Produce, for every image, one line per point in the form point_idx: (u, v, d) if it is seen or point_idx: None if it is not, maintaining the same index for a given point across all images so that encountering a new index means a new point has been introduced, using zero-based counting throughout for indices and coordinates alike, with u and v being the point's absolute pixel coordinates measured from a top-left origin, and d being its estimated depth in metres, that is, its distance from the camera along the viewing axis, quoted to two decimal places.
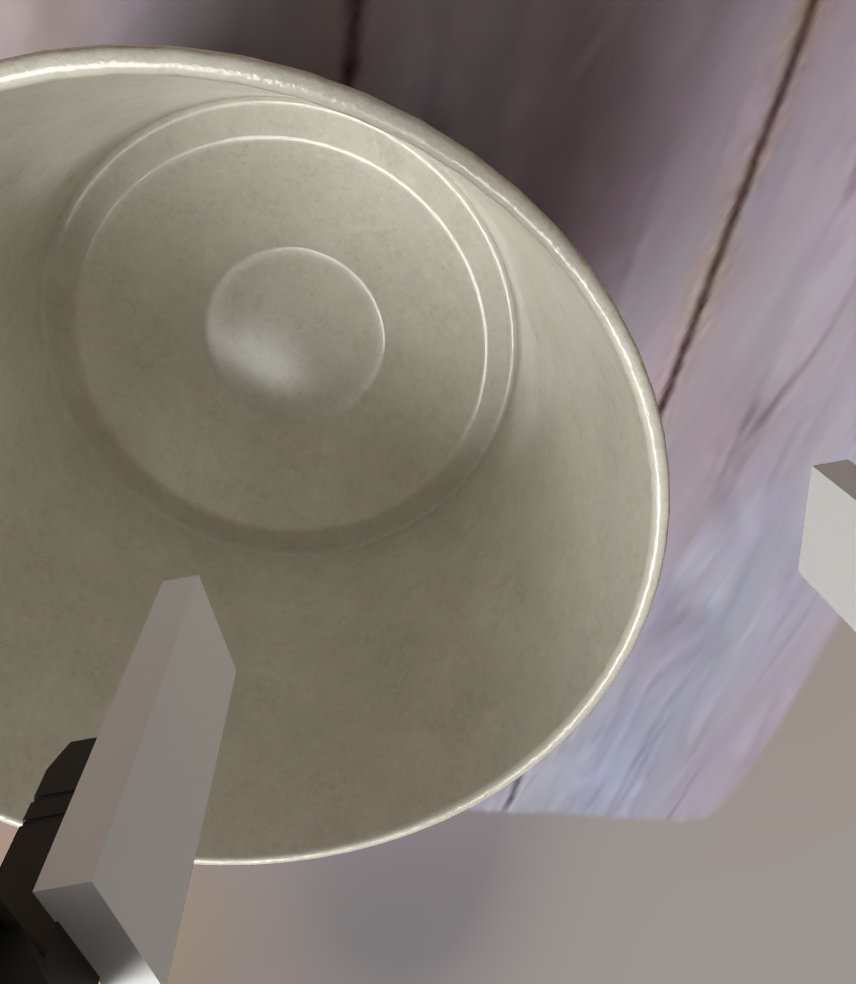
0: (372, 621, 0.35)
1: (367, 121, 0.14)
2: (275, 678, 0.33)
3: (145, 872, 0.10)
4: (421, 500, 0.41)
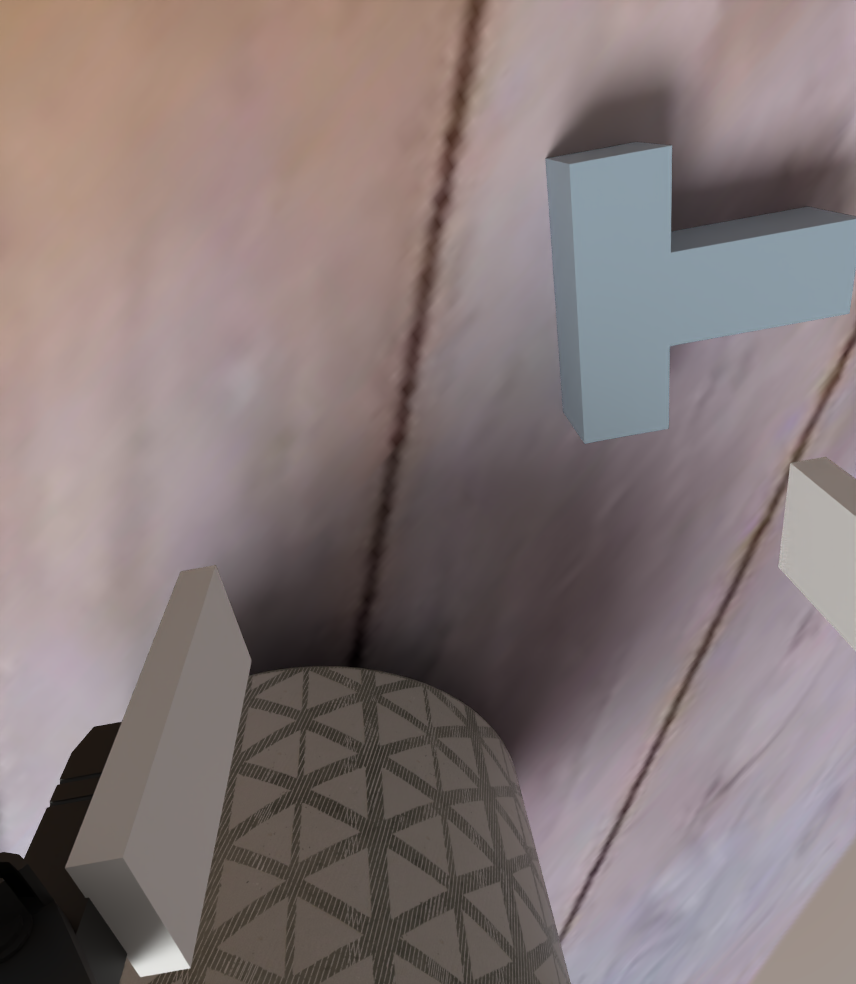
0: None
1: None
2: None
3: (171, 851, 0.10)
4: None
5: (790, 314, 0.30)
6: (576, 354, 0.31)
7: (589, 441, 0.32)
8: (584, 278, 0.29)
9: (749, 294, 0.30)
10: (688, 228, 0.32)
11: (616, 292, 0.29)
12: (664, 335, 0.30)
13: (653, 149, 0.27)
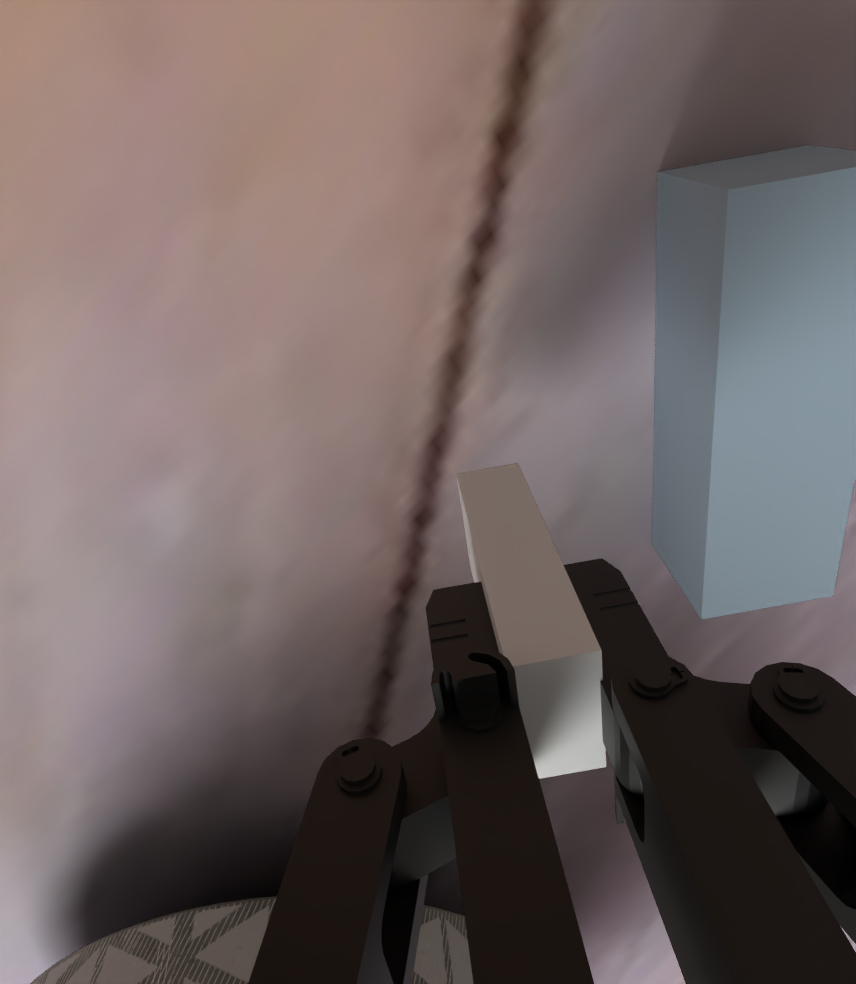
0: None
1: None
2: None
3: None
4: None
5: None
6: (699, 490, 0.19)
7: (709, 616, 0.21)
8: (732, 380, 0.17)
9: None
10: None
11: (781, 401, 0.17)
12: (848, 465, 0.18)
13: None
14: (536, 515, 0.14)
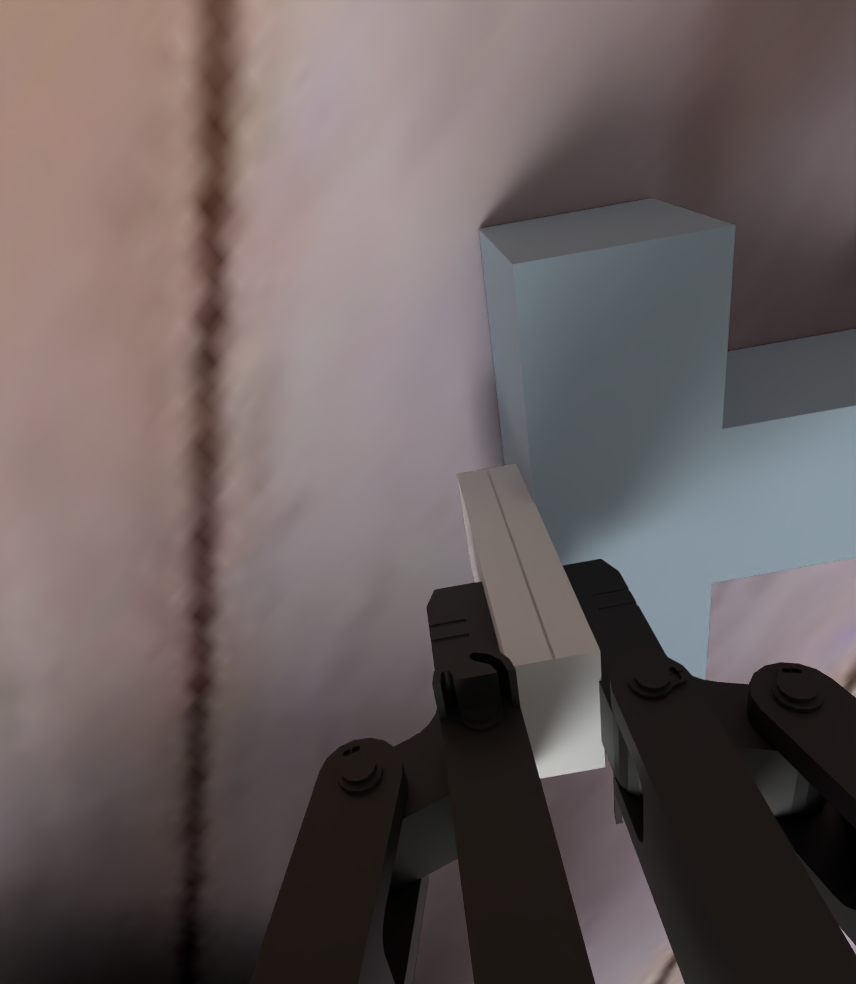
0: None
1: None
2: None
3: None
4: None
5: None
6: None
7: None
8: (550, 477, 0.14)
9: None
10: (743, 349, 0.18)
11: (613, 499, 0.15)
12: (702, 566, 0.16)
13: (695, 233, 0.12)
14: (535, 515, 0.14)
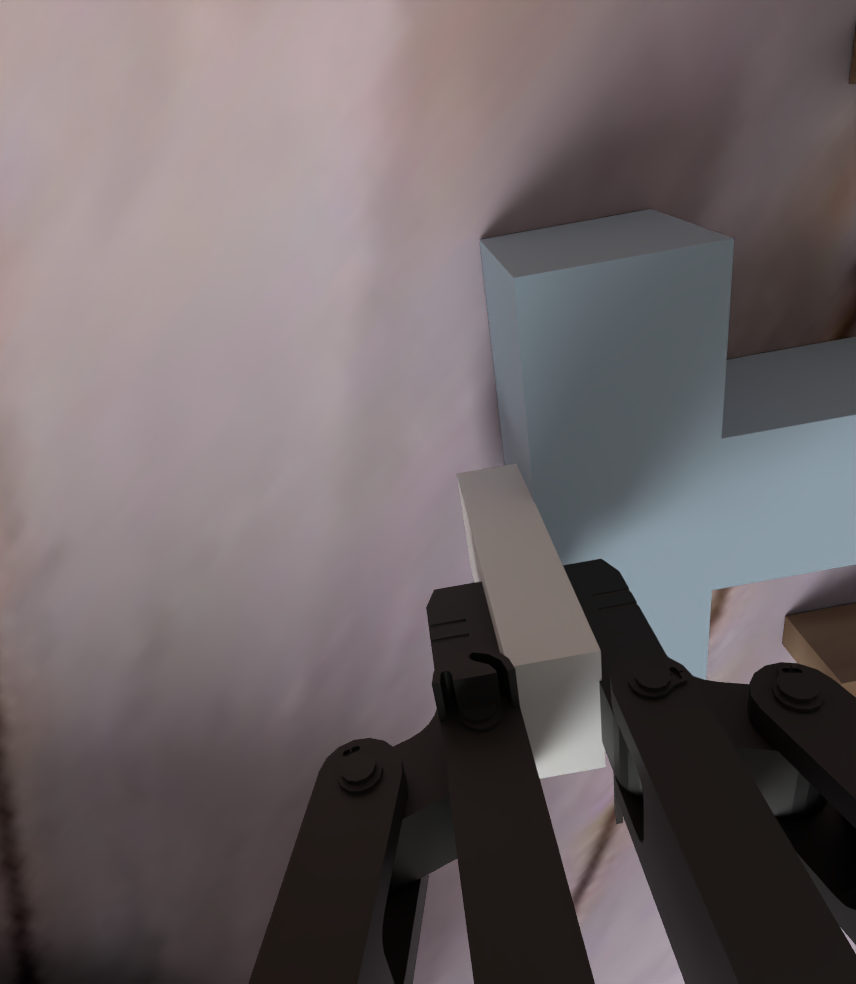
0: None
1: None
2: None
3: None
4: None
5: None
6: None
7: None
8: (551, 486, 0.15)
9: None
10: (742, 357, 0.18)
11: (614, 508, 0.15)
12: (702, 574, 0.16)
13: (694, 246, 0.12)
14: (535, 515, 0.14)
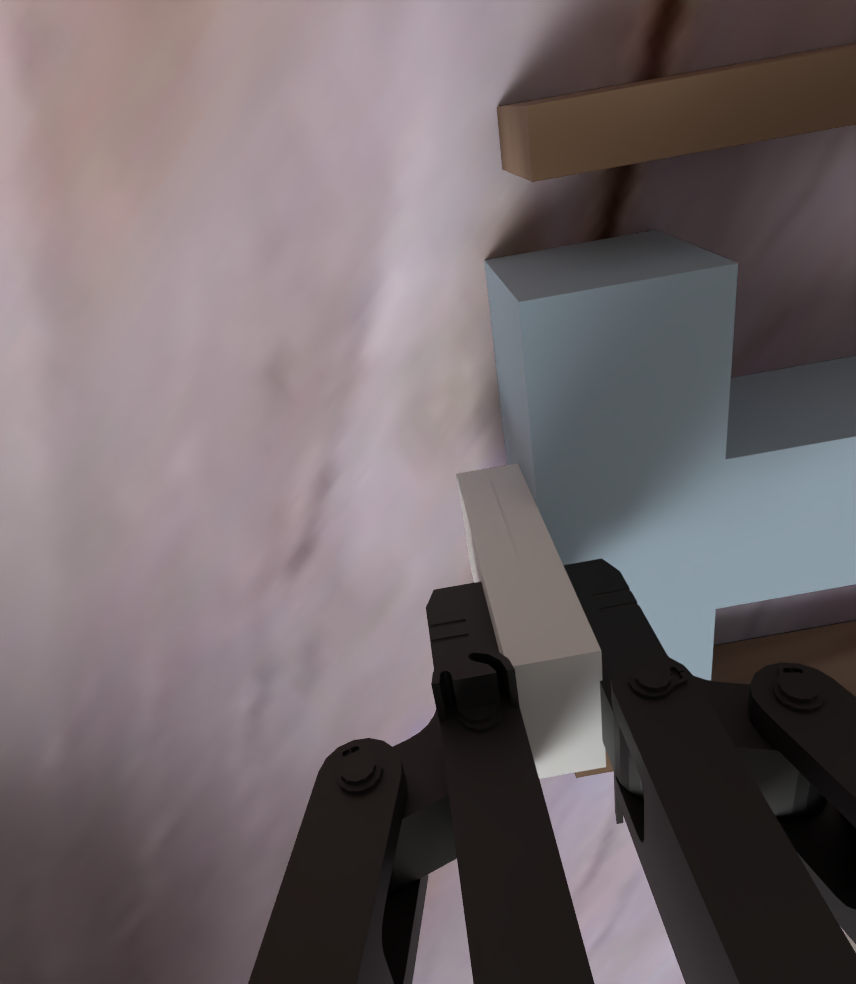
0: None
1: None
2: None
3: None
4: None
5: None
6: None
7: None
8: (555, 506, 0.15)
9: None
10: (746, 375, 0.18)
11: (618, 528, 0.15)
12: (706, 593, 0.16)
13: (698, 271, 0.12)
14: (536, 515, 0.14)
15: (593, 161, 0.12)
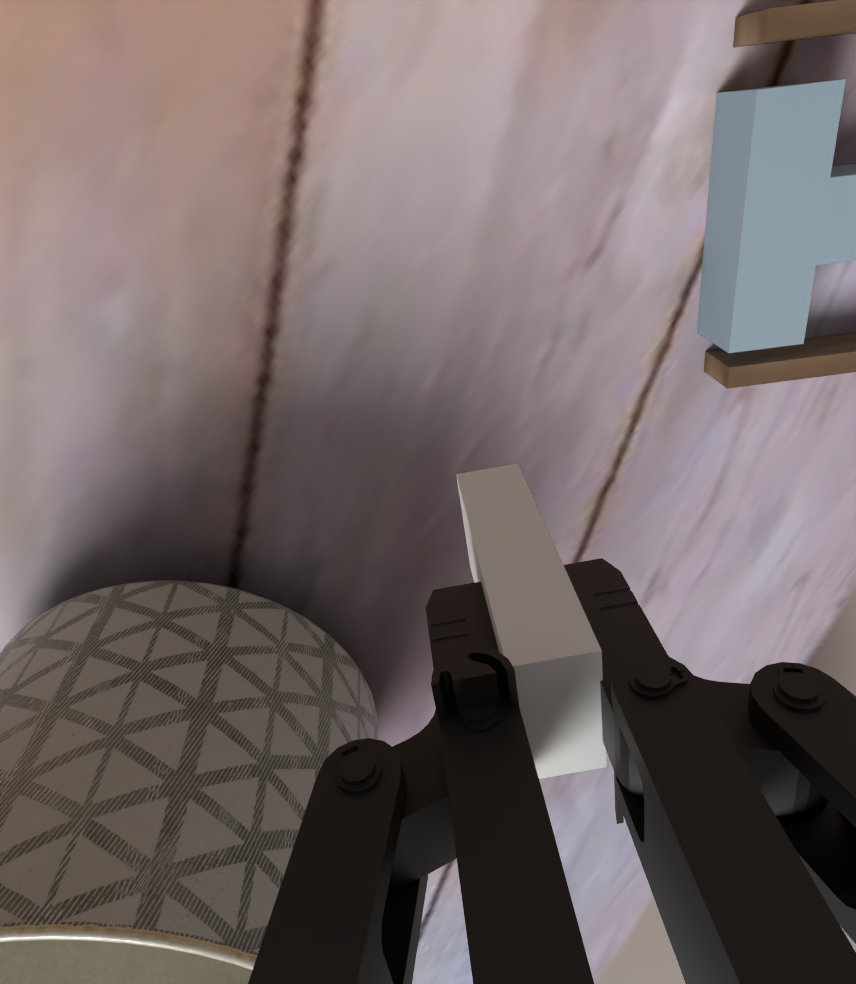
0: None
1: None
2: None
3: None
4: None
5: None
6: (732, 269, 0.35)
7: (733, 351, 0.36)
8: (753, 196, 0.33)
9: None
10: None
11: (778, 211, 0.33)
12: (813, 254, 0.34)
13: (829, 81, 0.31)
14: (536, 515, 0.14)
15: (790, 34, 0.30)
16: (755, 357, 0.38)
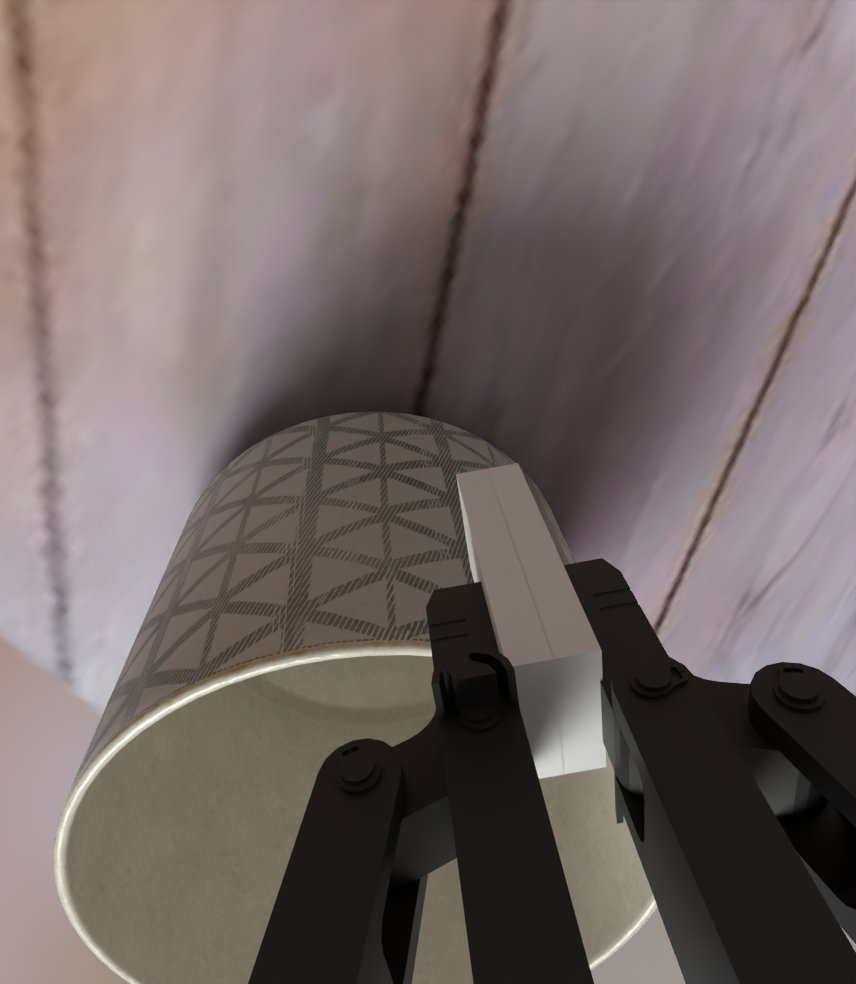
0: None
1: None
2: None
3: None
4: None
5: None
6: None
7: None
8: None
9: None
10: None
11: None
12: None
13: None
14: (536, 515, 0.14)
15: None
16: None
